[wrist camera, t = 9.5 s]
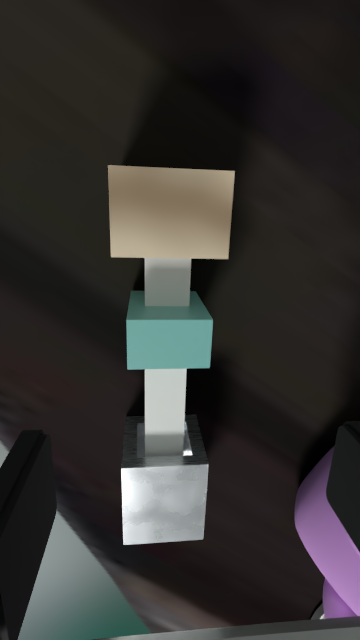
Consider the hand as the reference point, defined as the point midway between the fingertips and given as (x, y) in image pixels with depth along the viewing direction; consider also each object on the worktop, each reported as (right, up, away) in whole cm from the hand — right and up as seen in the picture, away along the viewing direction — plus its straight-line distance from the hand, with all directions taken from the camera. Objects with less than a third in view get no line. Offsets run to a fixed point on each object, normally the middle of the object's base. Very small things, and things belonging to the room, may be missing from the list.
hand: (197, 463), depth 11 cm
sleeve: (-2, -7, +19) cm, 20 cm away
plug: (-2, +4, +15) cm, 16 cm away
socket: (-2, +12, +13) cm, 18 cm away
